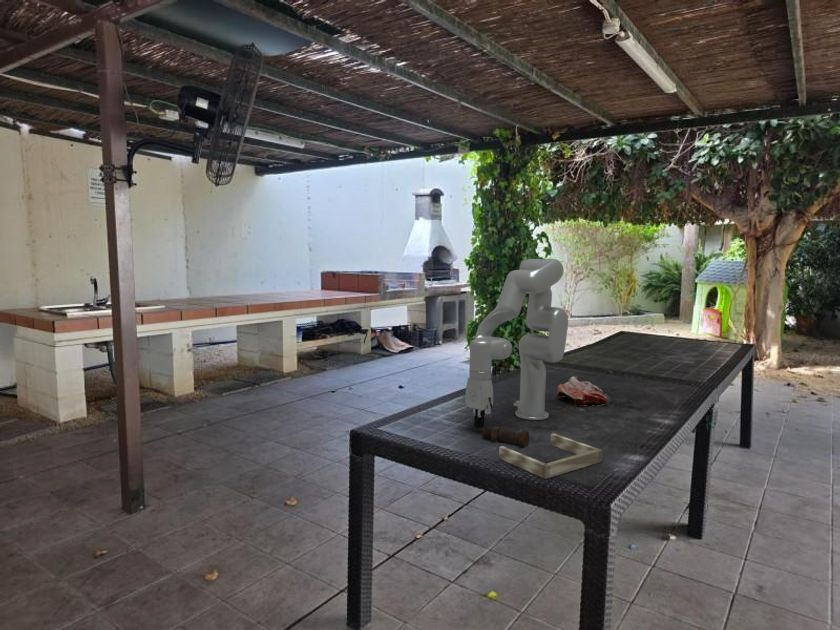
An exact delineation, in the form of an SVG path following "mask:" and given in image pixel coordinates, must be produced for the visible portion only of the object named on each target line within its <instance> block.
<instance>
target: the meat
mask: <svg viewBox="0 0 840 630" xmlns="http://www.w3.org/2000/svg"><path fill="white" fill-rule="evenodd" d="M556 390H557V393H556V396H557V397H562V396H567V397H569V398H571V399H572V400H573V401H574V405H575V406H574V407H577V406H576V405H582V406H583V405H587V406H592V405H595V406H597V405H601V404H606V405H607V403H608V397H606V395H605V394H604V392H603V390H602V389H601V388H600V387H599V386H597V385H595V384H592V383H591V382H590V381H588V380H586V381H584V380H583V381H582V380H581V381H580V378H579V377H578V376H571V377H570V378H569V379H568V381H567V382H565V383H560V384H559V385H558V386H557V388H556Z"/></svg>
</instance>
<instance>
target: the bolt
mask: <svg viewBox="0 0 840 630" xmlns="http://www.w3.org/2000/svg"><path fill="white" fill-rule="evenodd" d="M481 435H482V437H483V438H485V439H491V441H492V442H494V443H497V442H498V443H499V441H505V442H511V443H516V444H519V446H520V448H527V447H528V445H529V443H530V433H529V430H528V429H522V430H521V431H520V432H518V431H517V432H515V431H508V430H503V429H501V428H500V427H499V426H495V427H492V428H489V427H486V428H485V427H484V428H483V429H482V432H481Z"/></svg>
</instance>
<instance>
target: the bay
mask: <svg viewBox="0 0 840 630" xmlns="http://www.w3.org/2000/svg"><path fill="white" fill-rule="evenodd" d="M550 445H551V446H553V447H556V448H559V449H561V450H563V451H566V452H568V453H571V454H574V455H571V456H568V457H564V458H561V459H557V460H554V461H551V462H547V463H545V462H542V461H541V460H538V459H535V458H533V457H531V456H528V455H526V454H523V453H521V452H518V451H516V450H513V449H511V448H509V447H506V446H504V445H501V446H499V447H498V448H499V449H498V459H500V460H502V461H503V462H505V463H509V464H511V465H512V466H515V467H518V468H520V469H522V470H524V471H526V472H529V473H531V474H534V475H536V476H538V477H540V478H542V479H545V480H547V479H550V478H553V477H557V476H560V475H564V474H566V473H569V472H573V471H575V470H580V469H581V468H582V469H583V468H586V467H589V466H592V465H595V464H598V463H601V462H603V449H601V448H598V447H595V446H592V445H589V444H586V443H583V442H580V441H577V440H575V439H571V438H568V437H565V436H563V435H559V434H557V433H551V434H550Z"/></svg>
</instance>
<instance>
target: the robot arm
mask: <svg viewBox="0 0 840 630" xmlns="http://www.w3.org/2000/svg"><path fill="white" fill-rule="evenodd" d="M563 275H564V265H563V263H562V262H561V261H560V260H558V259H555V258H528V259H525V260H523V261H521V262H520V264H519V269H516V270H512V271H509V272H508V274H507V275H506V278H505V281H504V284H503V287H502V290H501V292H500V295H499V298H498V302H497V304H496V307H495V308H494V309H493V310H492V311H490V312H489V313H488V314H487V315H486V316H485V317H484V318H483V320H481V322H480V323H479V325H478V327H477V330H476V332H475V337H474V339H473V340H472V339H471V341H470V343H469V368H468V369H469V375H468V376H469V377H468V378H467V380H466V386H465V387H466V388H465V396H464V397H465V398H464V399H465V400H464V401H465V405H466V406H467V407H468V408H469V409H471V410H472V414H473V416H474V419H473V420H474V421H473V427H474V428H475V429H478V430H479V429H482V428H483V429H484V428H485V417H486V416H487V415H490V414H492V410H491V409H493V406H494V387H493V382H492V381H493V380H492V366H493V365H492V363H493V362H492V361H493V360H505V359H508V358H509V357H510V356H511V355H512V353H513V345H512V343H511V341H510V340H508V339H506V338H503V337H496V336H492V335H493V332H495V329H497V328H498V327H499V326H500V325H502V324H503V323H506V322H508V321H510V320H513V319H515V318H517V317H519V315H520V313H521V310H522V307H523V304H524V302H525V298H526V295H527V294H529V295H528V296H529V297H528V304H527V311H526V322H525V323H526V327H527V328H528V329H530V330H533V331H536V332H543V333H545V332H546V333H548V335H545V334H539V333H528V334H527V333H526V334H524V335H523V336H521V338H520V339H519V341H518V351H519V359H520V377H519V378H520V384H519V388H520V389H519V400H516V401H515V402H514V403H513V407H517V409H516V410H515V413H514V414H515V416H516V417H517V418H520V419H523V420H529V421H530V420H531V421H540V420H541V421H542V420H543V421H544V420H547V419H548V418H549V417H550V414H549V412H548V411H546V408H545V407H546V385H547V384H546V383H547V380H546V379H547V369H546V366H545V364H544V362H547V363H558V362H560V361H561V360H562V359H563V357H564V355H565V350H566V345H567V344H566V343H567V336H568V329H569V318H568V313H567V312H566V310H565V309H563V308H561V307H558V306H556V307H555V306H552V300H553V299H552V298H553V291H552V289H551V287H552V286H553V285H555V284H557V283H558V282H559V281H560V280H561V279H562V277H563Z"/></svg>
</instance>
